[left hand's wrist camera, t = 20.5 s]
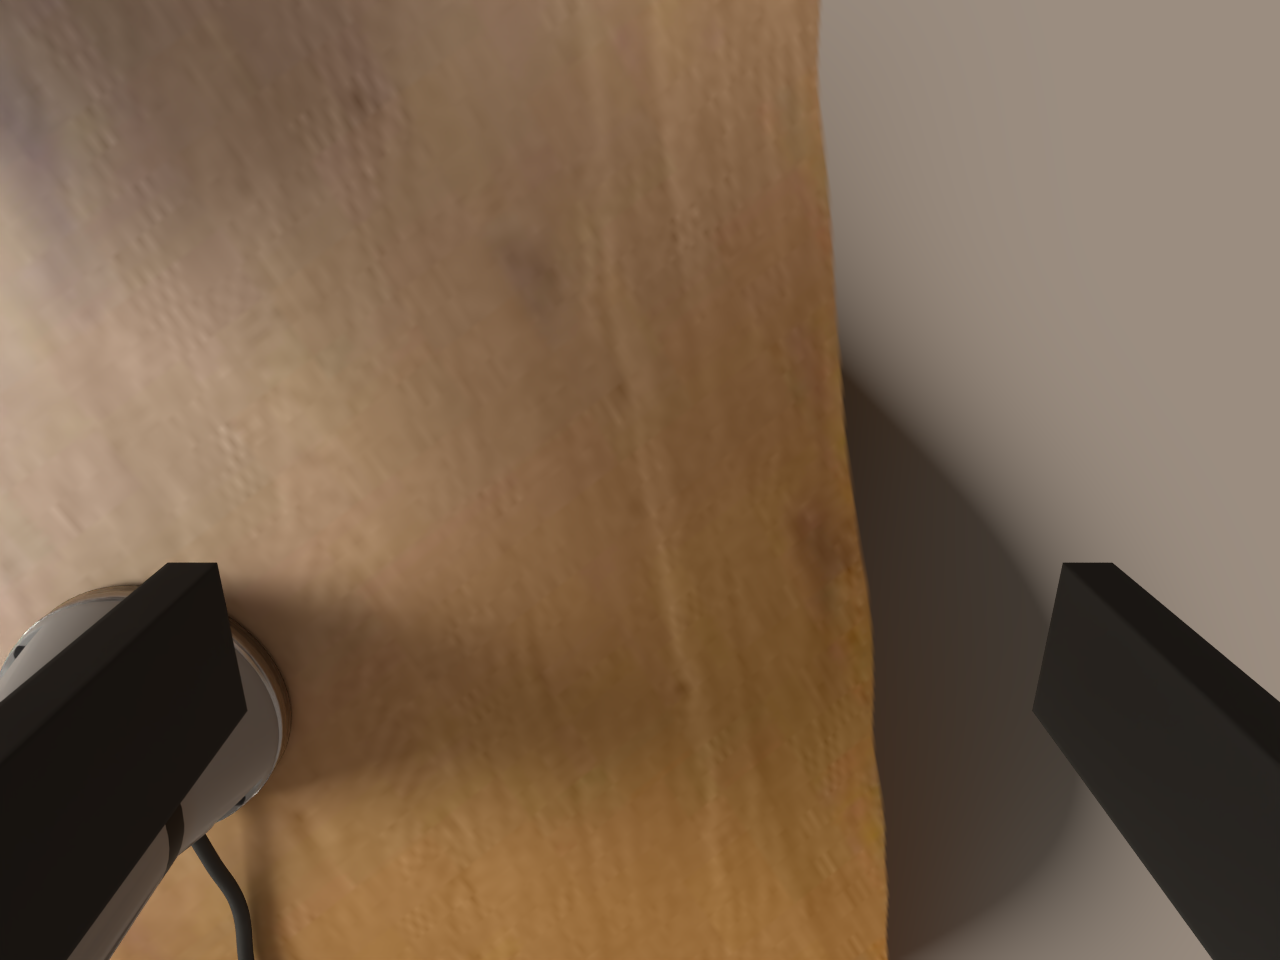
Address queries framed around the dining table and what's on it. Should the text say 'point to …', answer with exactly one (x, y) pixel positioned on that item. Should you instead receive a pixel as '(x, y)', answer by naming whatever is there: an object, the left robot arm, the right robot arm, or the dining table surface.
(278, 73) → the dining table surface
